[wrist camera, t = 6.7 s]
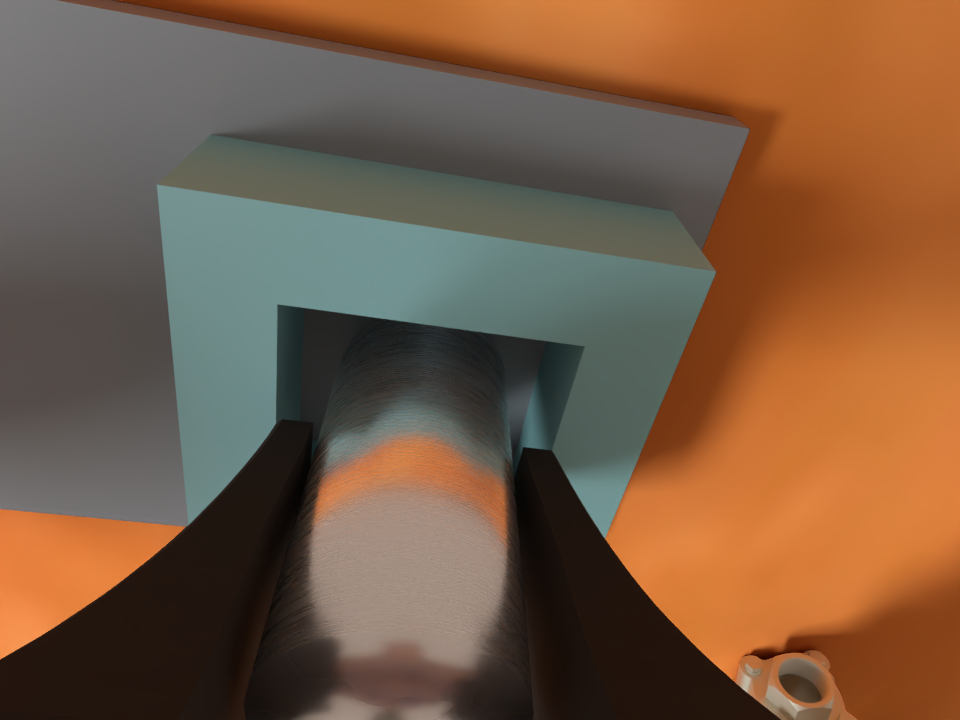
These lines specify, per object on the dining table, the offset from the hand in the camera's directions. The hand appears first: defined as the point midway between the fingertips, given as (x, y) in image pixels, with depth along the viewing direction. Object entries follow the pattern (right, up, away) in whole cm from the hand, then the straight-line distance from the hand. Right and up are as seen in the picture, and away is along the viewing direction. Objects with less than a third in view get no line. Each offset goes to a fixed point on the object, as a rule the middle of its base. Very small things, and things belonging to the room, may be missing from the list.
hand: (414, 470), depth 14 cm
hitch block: (-3, +3, +4) cm, 6 cm away
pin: (0, +2, +2) cm, 3 cm away
